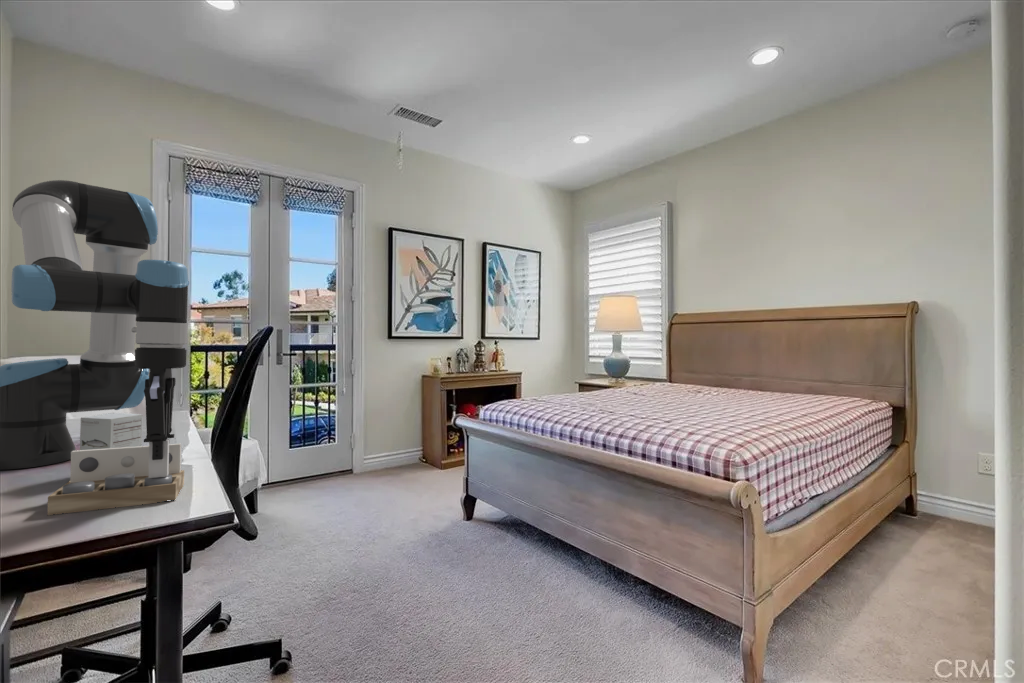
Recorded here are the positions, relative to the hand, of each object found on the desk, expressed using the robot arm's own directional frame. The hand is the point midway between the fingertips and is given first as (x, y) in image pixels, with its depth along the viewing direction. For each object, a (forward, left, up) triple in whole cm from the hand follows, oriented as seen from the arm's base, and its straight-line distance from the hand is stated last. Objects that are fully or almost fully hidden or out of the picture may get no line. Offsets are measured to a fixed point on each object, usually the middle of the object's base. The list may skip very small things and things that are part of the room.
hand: (158, 476), depth 85 cm
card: (-6, -6, -1) cm, 8 cm away
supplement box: (-21, -12, -4) cm, 24 cm away
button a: (0, -11, -2) cm, 11 cm away
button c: (0, 0, -2) cm, 2 cm away
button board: (-2, -6, -4) cm, 7 cm away
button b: (0, -6, -2) cm, 6 cm away
